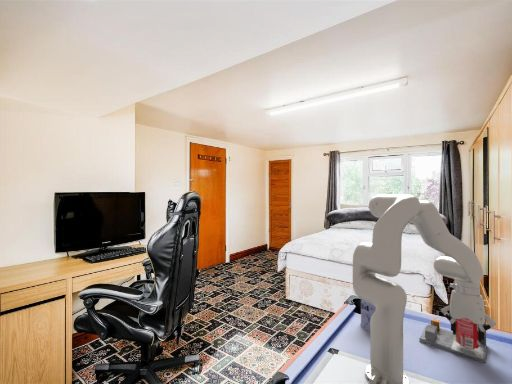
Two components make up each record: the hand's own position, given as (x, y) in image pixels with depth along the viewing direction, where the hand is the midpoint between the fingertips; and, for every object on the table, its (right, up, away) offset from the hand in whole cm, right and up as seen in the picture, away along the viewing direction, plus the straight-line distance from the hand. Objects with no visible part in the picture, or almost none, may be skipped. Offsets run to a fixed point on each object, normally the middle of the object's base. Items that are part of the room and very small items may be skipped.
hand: (467, 336), depth 98 cm
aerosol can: (-28, -6, +19) cm, 35 cm away
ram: (-6, -5, +11) cm, 13 cm away
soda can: (0, -3, 0) cm, 3 cm away
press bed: (-1, -6, +6) cm, 9 cm away
